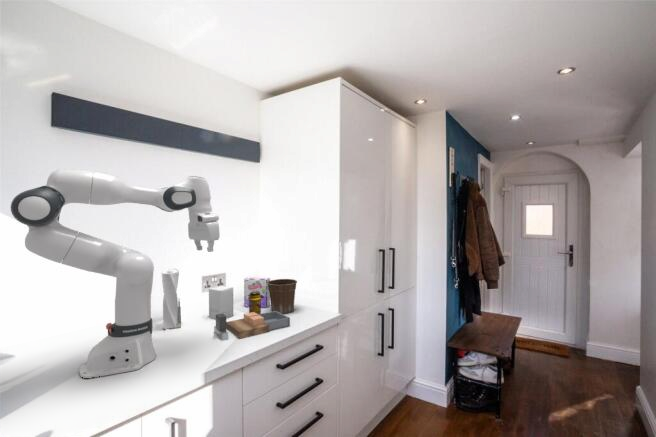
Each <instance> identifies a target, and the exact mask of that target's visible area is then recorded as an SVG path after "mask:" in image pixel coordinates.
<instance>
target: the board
mask: <svg viewBox="0 0 656 437" xmlns="http://www.w3.org/2000/svg"><path fill="white" fill-rule="evenodd" d="M226 323H227V331H229V332H230V333H231V334H233V335H234V336H235V338H237V339H238V340H240V339H245V338H250V337H254V336H258V335H262V333H263V334H266V332H267V333H270V331H269V325H268V324H267V323H265V322H264V324H263V325H259V326H254V327H253V326H252V325H250V324H249V323H247V322H246V321H244V318H240V319H234V320H230V321H229V320H228V321H226Z"/></svg>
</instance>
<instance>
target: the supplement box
mask: <svg viewBox="0 0 656 437" xmlns="http://www.w3.org/2000/svg"><path fill="white" fill-rule="evenodd" d="M222 313H223V314H224V315H225V316H226V319H228V318H231V317H233V316H234V287H233V286H226V285H219V286H215V287H210V288H208V318H210V319H213V320H216V315H217V314H222Z"/></svg>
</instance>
